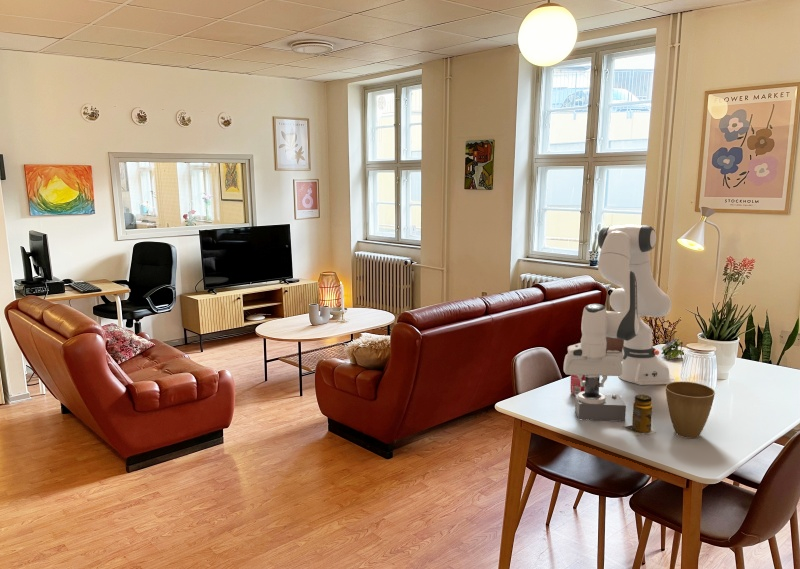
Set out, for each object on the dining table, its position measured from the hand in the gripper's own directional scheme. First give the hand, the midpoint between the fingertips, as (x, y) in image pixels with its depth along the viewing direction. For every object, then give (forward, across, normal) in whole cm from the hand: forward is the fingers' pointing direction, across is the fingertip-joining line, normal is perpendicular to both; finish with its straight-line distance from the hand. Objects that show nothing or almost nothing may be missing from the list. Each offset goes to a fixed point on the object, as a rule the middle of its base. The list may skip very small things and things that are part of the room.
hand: (591, 386), depth 219 cm
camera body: (+11, -3, 0) cm, 11 cm away
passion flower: (+11, -51, -79) cm, 95 cm away
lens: (+3, 0, 0) cm, 3 cm away
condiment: (+11, -14, +12) cm, 22 cm away
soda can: (+11, +1, -22) cm, 25 cm away
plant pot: (+11, -29, +14) cm, 34 cm away
